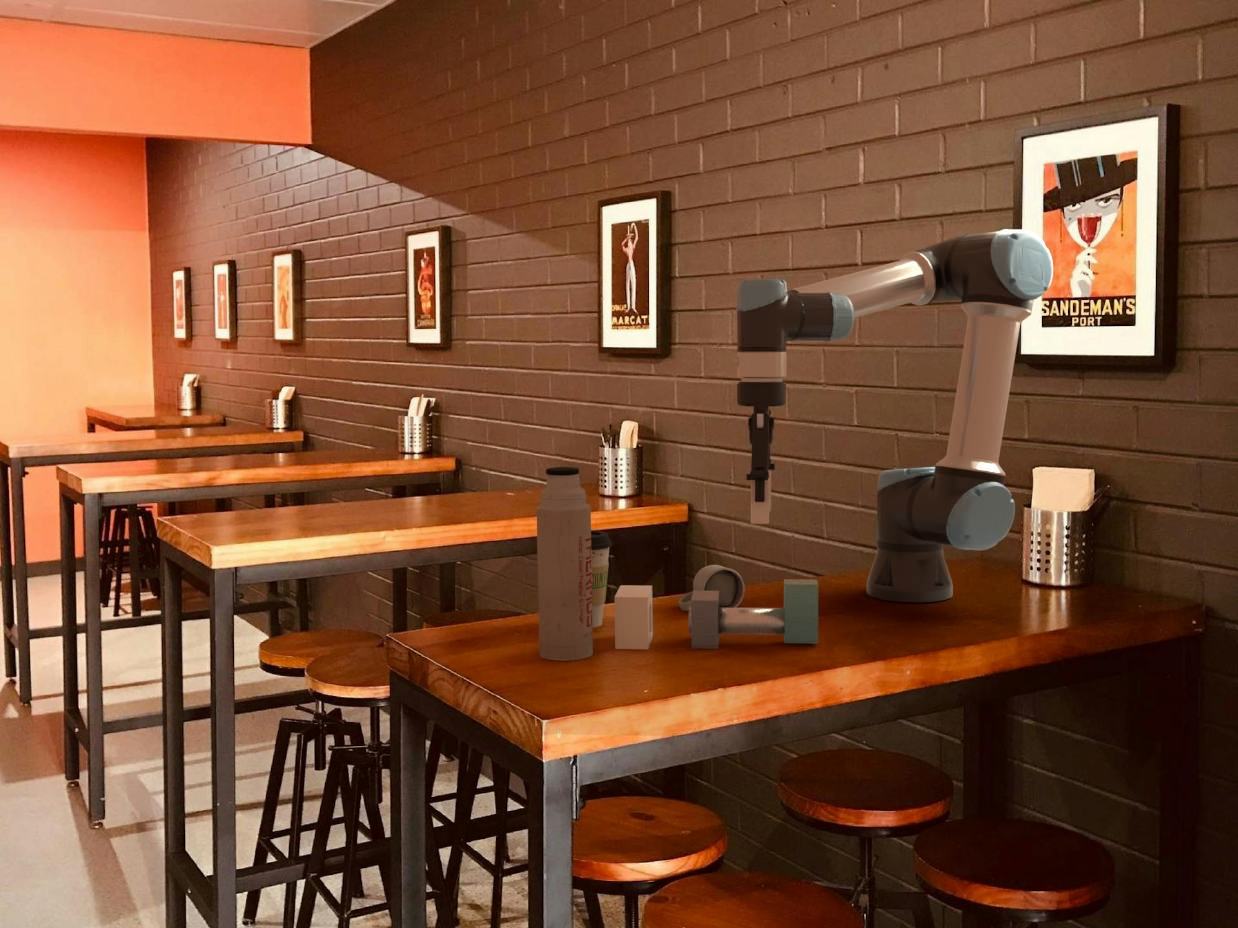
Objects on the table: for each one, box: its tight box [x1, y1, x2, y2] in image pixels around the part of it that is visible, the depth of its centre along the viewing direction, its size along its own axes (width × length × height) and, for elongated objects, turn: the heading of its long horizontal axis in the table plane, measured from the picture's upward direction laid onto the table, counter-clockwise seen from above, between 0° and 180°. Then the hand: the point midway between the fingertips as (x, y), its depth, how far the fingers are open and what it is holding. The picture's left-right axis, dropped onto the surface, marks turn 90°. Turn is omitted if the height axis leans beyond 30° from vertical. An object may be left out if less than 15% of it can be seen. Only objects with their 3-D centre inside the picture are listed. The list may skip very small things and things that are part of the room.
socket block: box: [614, 584, 654, 650], centre depth 196 cm, size 5×9×8 cm, turn 174°
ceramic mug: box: [677, 564, 745, 612], centre depth 220 cm, size 11×8×8 cm
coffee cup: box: [591, 529, 613, 629], centre depth 209 cm, size 10×10×15 cm
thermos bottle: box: [536, 466, 594, 662], centre depth 188 cm, size 8×8×28 cm
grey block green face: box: [688, 578, 819, 644], centre depth 194 cm, size 20×4×9 cm, turn 84°
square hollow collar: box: [690, 590, 720, 650], centre depth 195 cm, size 4×7×7 cm, turn 174°
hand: (761, 517), depth 198 cm, fingers open, 13 cm apart
